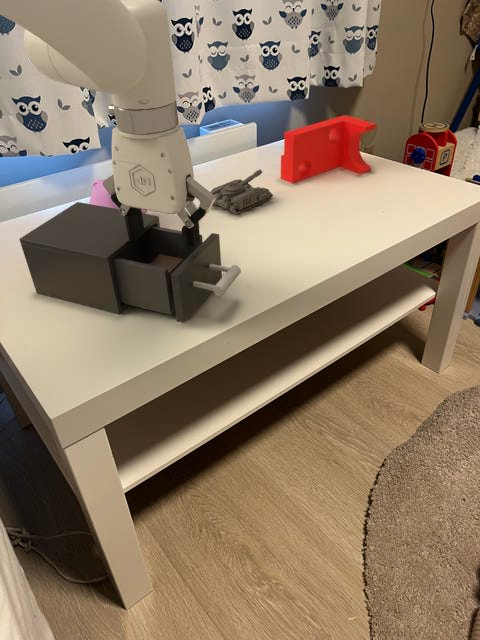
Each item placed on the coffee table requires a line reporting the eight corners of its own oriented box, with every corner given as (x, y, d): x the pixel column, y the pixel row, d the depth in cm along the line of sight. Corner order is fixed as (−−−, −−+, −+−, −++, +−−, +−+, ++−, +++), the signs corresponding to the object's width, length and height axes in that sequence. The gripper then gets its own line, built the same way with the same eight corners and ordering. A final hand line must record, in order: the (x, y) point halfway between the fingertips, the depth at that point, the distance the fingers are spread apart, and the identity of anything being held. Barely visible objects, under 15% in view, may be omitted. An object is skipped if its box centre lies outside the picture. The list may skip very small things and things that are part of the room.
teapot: (120, 205, 107) (112, 161, 102) (170, 225, 99) (165, 178, 94) (78, 224, 101) (67, 177, 96) (128, 247, 93) (119, 198, 88)
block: (173, 295, 77) (169, 272, 75) (149, 289, 78) (146, 266, 76) (186, 281, 80) (183, 258, 77) (163, 276, 81) (160, 254, 79)
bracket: (341, 114, 118) (376, 123, 112) (337, 158, 125) (370, 170, 118) (281, 131, 110) (314, 143, 103) (280, 178, 116) (312, 192, 110)
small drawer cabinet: (166, 269, 87) (158, 216, 81) (119, 314, 77) (107, 257, 71) (89, 252, 92) (77, 201, 86) (36, 293, 82) (18, 238, 76)
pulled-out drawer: (250, 284, 81) (249, 239, 76) (215, 331, 72) (211, 283, 67) (143, 262, 87) (136, 219, 82) (99, 301, 78) (88, 256, 73)
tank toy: (245, 187, 113) (245, 163, 110) (278, 199, 107) (278, 175, 104) (203, 204, 106) (201, 180, 103) (235, 218, 101) (234, 193, 98)
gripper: (70, 119, 64) (98, 244, 75) (194, 134, 58) (205, 268, 69) (107, 103, 70) (128, 222, 80) (224, 115, 64) (230, 242, 74)
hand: (163, 243), depth 74 cm, fingers open, 8 cm apart
